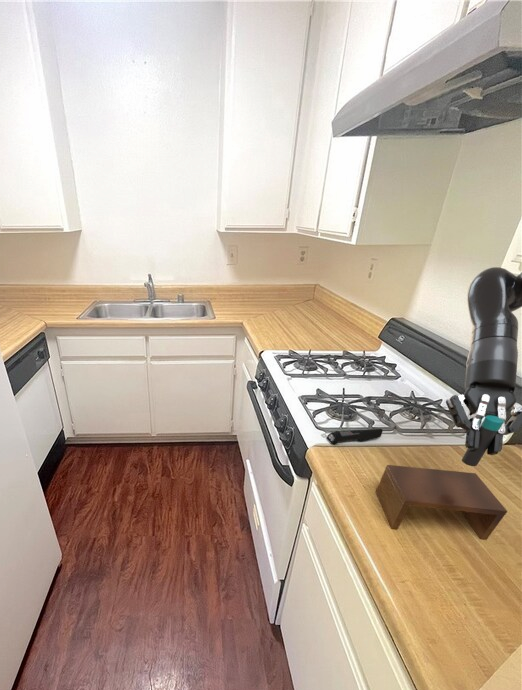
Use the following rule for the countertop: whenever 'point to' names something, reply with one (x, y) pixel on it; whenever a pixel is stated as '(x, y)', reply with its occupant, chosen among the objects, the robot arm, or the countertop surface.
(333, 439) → the electric trimmer
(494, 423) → the marker
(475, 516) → the shelf
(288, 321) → the countertop surface
